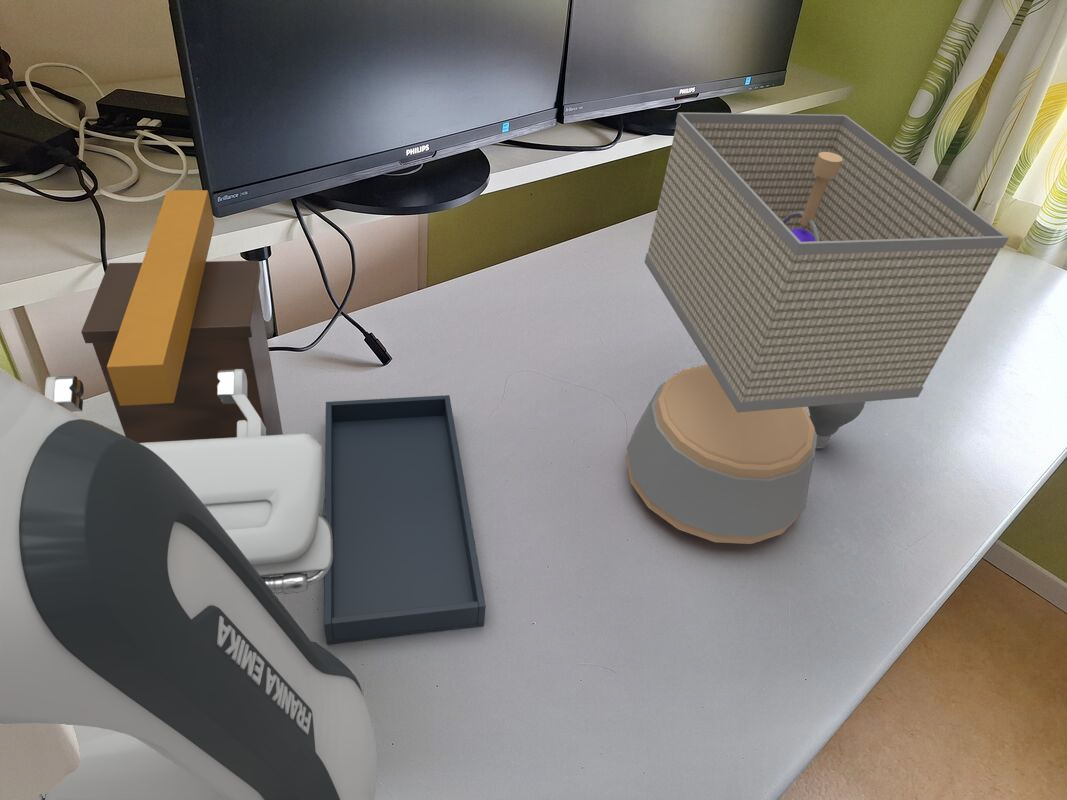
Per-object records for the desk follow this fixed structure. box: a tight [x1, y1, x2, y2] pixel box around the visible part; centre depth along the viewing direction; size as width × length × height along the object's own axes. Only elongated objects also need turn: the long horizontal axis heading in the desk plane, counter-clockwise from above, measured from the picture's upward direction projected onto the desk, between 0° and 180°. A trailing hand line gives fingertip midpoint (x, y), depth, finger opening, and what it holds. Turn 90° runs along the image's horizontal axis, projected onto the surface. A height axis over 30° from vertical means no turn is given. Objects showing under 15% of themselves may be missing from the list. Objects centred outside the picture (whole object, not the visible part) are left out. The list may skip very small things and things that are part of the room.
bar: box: [107, 189, 215, 406], centre depth 53 cm, size 3×22×3 cm, turn 12°
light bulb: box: [807, 402, 866, 449], centre depth 85 cm, size 6×6×10 cm
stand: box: [81, 260, 284, 443], centre depth 63 cm, size 11×9×26 cm
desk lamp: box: [625, 111, 1010, 545], centre depth 69 cm, size 22×19×37 cm
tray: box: [323, 394, 487, 645], centre depth 73 cm, size 13×27×3 cm, turn 12°
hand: (150, 375), depth 46 cm, fingers open, 8 cm apart
